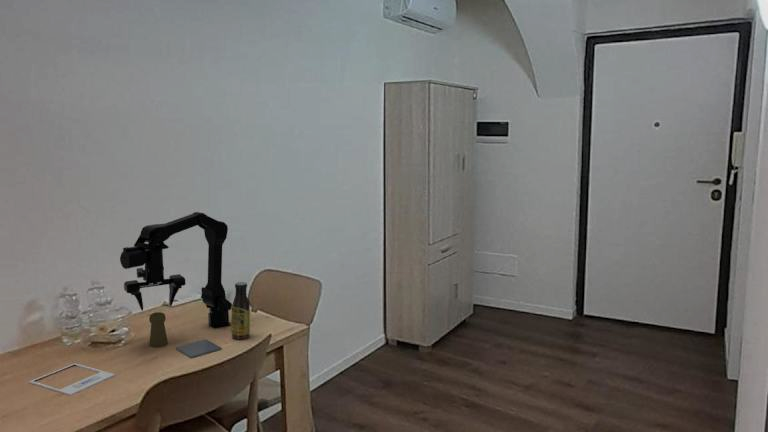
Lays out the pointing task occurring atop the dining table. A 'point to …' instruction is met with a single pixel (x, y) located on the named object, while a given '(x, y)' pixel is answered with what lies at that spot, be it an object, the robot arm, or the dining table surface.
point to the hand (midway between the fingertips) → (156, 307)
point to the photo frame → (81, 384)
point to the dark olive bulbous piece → (158, 330)
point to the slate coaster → (198, 348)
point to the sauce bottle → (240, 312)
